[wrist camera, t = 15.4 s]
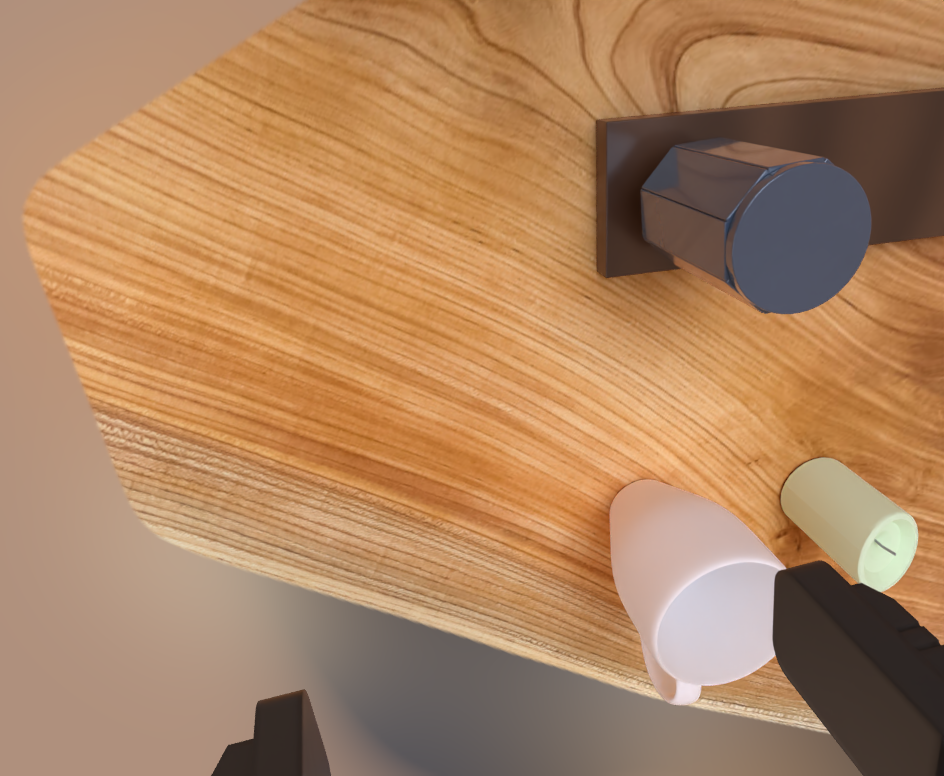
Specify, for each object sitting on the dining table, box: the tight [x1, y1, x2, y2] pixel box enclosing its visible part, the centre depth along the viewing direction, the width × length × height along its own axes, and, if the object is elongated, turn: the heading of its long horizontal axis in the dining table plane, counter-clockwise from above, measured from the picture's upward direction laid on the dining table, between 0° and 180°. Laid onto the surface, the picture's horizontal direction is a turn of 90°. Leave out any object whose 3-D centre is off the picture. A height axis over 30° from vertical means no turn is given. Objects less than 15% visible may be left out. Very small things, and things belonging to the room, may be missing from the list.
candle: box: [780, 457, 918, 592], centre depth 48 cm, size 5×5×8 cm
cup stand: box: [597, 88, 944, 278], centre depth 37 cm, size 22×8×12 cm, turn 94°
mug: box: [609, 479, 786, 705], centre depth 45 cm, size 12×8×11 cm
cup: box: [640, 137, 871, 314], centre depth 34 cm, size 6×6×9 cm
